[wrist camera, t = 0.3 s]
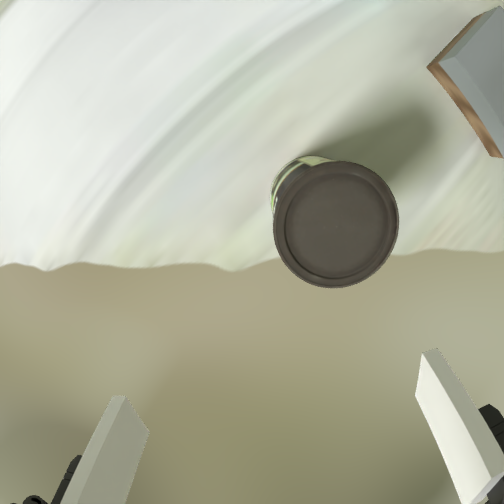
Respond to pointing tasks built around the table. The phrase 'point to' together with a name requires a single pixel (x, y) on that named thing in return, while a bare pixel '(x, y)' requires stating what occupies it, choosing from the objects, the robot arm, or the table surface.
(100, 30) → the table surface
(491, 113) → the grey slab
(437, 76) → the walnut slab
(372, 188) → the coffee can
